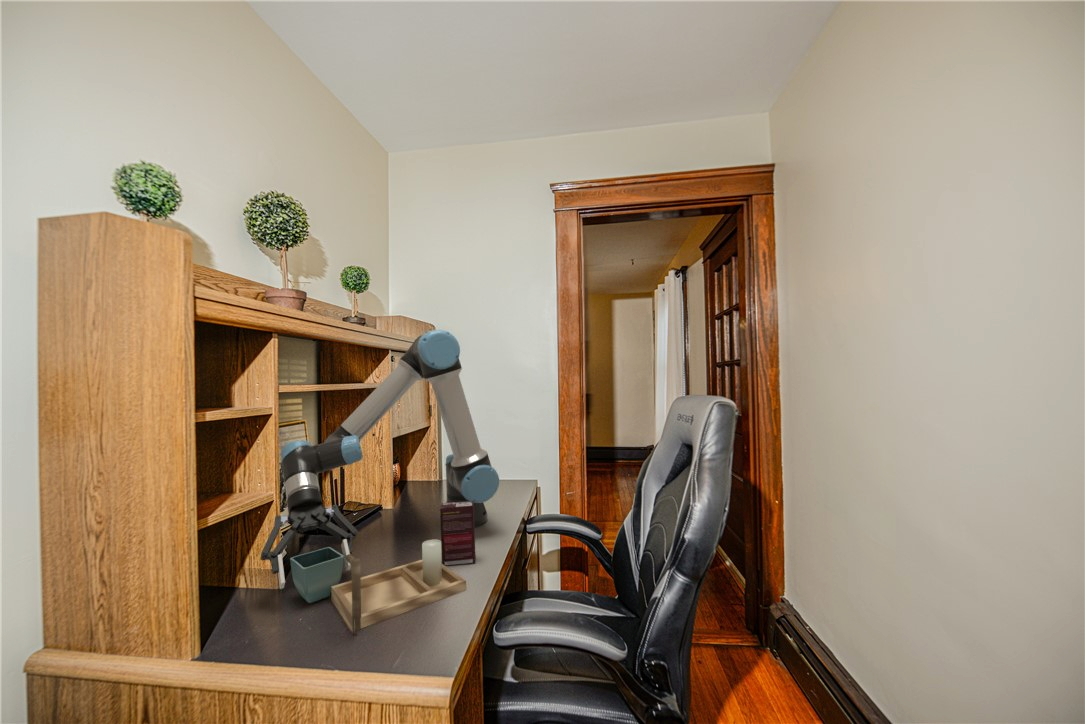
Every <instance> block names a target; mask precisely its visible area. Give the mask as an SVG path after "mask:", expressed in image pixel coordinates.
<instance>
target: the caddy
mask: <svg viewBox="0 0 1085 724" xmlns="http://www.w3.org/2000/svg"><path fill="white" fill-rule="evenodd" d="M346 560H347V561H348V562H349V563H350V565H351V568H350V570H351V580H349V581H345V582H342V583H339V584H338V585H334V586H331V593H330V594H331V596H330V597H331V599H330V600H331V601H332V603H333V604H334V605H333V606H334V607H336V609H337V610H338V612H339V614H340V616H341V617H342V618H343V620H344V622H345V624H347V626H348V628H349V630H350V631H351V632H352V636H354V637H355V636H358V633H357V631H359V630H360V629H364V628H366V627H369V626H372V625H375V624H377V623H379V622H383V621H385V620H389V619H391V618H393V617H397V616H399V615H401V614H406V613H407V612H410V611H413V610H415V609H419V608H421V607H424V606H427V605H429V604H432V603H434V602H435V603H436V602H437V601H440V600H443V599H445V598H448V597H451V596H454V595H456V594H459V593H462V592H465V591H467V580H465V579H464V578H463V577H461V576H460V575H459V574H457V573H456V572H455V571H453V570H452V569H450V568H449V567H448V566H447V567H446V566H445V565H443V564H442V582H441V583H439V584H437V585H434V586H428V585H426V584H425V583H424V582H423V565H422V559H419V560H416V561H413V562H409V563H406V564H405V563H404V564H403V565H399V566H396V567H392V568H389V569H385V570H382V571H379V572H375V573H372V574H369V575H366V576H361V573H362V572H361V558H359V557H357V558H355V557H354V556H353V555H352V554H348V555H347V556H346Z"/></svg>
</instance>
